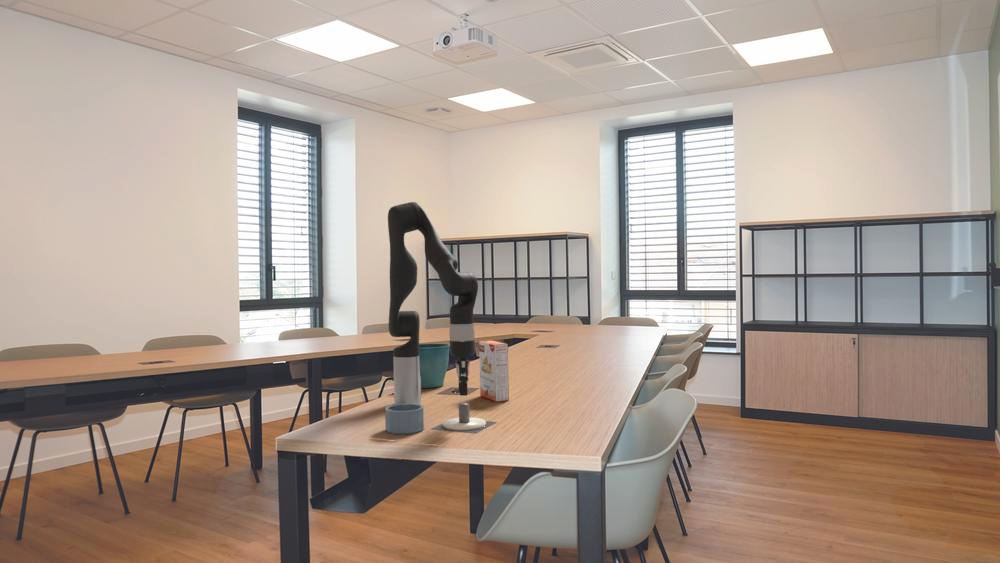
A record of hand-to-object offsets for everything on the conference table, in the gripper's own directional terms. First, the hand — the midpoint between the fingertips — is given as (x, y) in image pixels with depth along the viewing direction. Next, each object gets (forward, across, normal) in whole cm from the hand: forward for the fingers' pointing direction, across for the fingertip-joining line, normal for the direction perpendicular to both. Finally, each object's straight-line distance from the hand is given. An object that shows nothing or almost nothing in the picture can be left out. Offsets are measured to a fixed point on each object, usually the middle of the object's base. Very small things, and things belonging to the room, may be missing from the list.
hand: (462, 392), depth 193 cm
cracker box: (+10, -44, +13) cm, 47 cm away
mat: (+10, 0, 0) cm, 10 cm away
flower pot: (+10, -76, -11) cm, 77 cm away
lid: (+10, 0, 0) cm, 10 cm away
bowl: (+10, +2, -17) cm, 20 cm away
